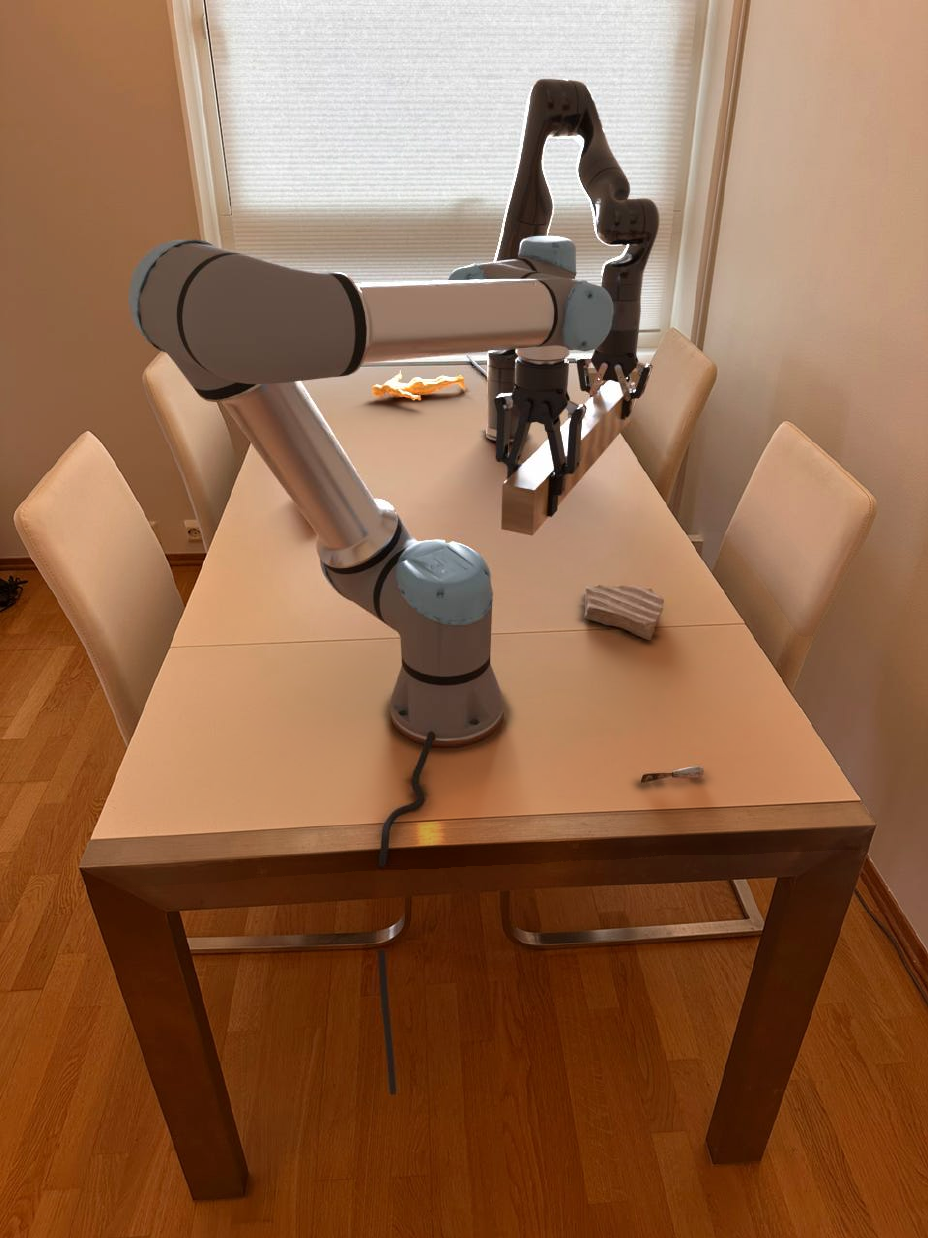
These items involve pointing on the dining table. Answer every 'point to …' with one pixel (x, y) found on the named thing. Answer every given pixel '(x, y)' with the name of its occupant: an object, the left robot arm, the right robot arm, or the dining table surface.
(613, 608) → the stone
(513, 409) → the right robot arm
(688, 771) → the putty knife
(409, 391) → the human figure
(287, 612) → the dining table surface
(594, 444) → the post
